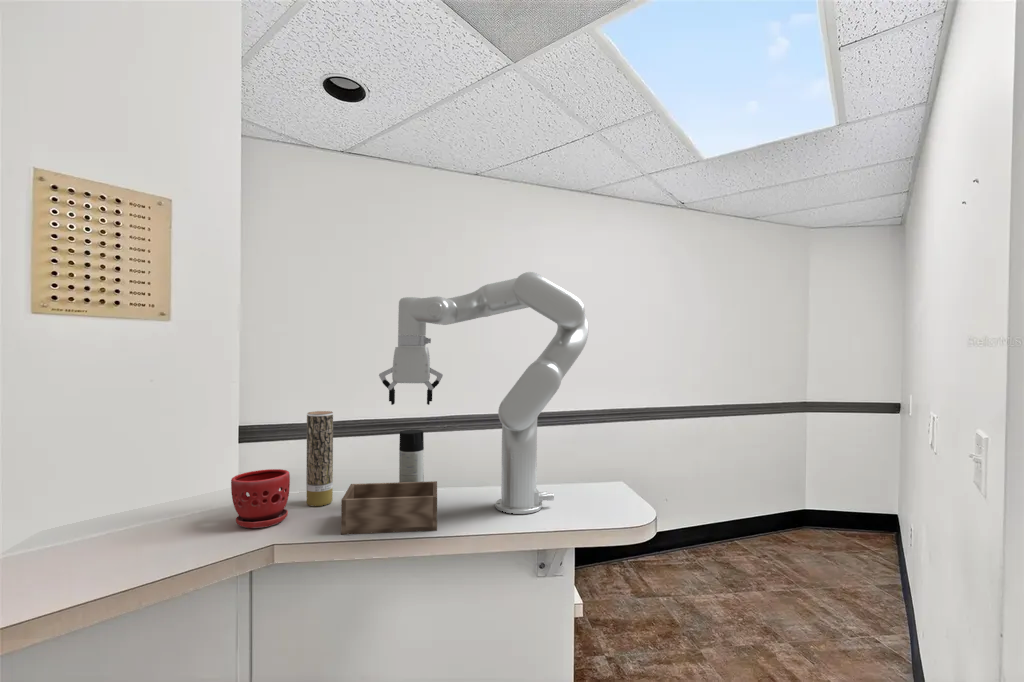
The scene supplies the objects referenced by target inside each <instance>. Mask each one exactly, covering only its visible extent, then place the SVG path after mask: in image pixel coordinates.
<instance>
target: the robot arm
mask: <svg viewBox="0 0 1024 682" xmlns="http://www.w3.org/2000/svg"><path fill="white" fill-rule="evenodd" d="M528 308H530V309H532V310H534V311H535V312H536V313H539V314H540V315H542V316H544V318H547V319H548V320H550V321H552V322H554V323H555V324H556V325H557V330H556V333H555V335H554V336H553V338H552V339H551V340H550V342H549V343H548V345H547V346H546V347H545V349H544V350H543V351H542V352H541V354H540V355H539V356H538V358H537V359H535V360H534V361H533V362H532V363H530V365H528V366H527V368H526V369H525V371H523V373H522V374H521V375H520V377H519V378H518V379H517V381H516V382H515V384H513V386H512V388H511V389H510V390H509V391H508V393H507V394H506V395H505V396H504V398H503V399H502V401H501V402H500V404H499V407H498V411H497V412H498V413H497V414H498V419H499V421H500V423H501V425H502V426H501V427H502V428H501V430H502V431H501V484H500V485H501V496H500V497H501V498H499V499H497V500H496V501H495V508H496V509H497V511H500V512H502V511H503V512H502V513H505V512H506V513H507V514H511V513H513V514H512V515H526V514H533V513H536V512H538V511H540V510H542V508H543V503H542V502H543V501H554V500H555V494H554V492H553V493H552V492H550V493H549V492H548V491H539V490H538V489H537V470H538V468H537V464H538V463H537V458H538V457H537V456H538V455H537V453H538V452H537V450H538V418H539V417H538V416H539V415H540V414H541V413H542V411H543V410H544V409H545V408H546V406H547V405H549V402H550V401H551V400H552V398H553V397H554V396H555V395H556V393H557V392H558V390H559V389H560V386H561V383H562V380H564V379H563V378H564V377H565V376H566V375H567V373H568V372H569V370H570V369H571V368H572V366H573V365H574V363H575V362H576V360H578V358H579V357H580V355H581V354H582V353H583V350H584V348H585V346H586V345H587V341H588V336H589V322H588V318H587V315H586V309H585V305H584V303H583V301H582V300H581V299H580V298H579V297H578V296H576V295H575V294H574V293H572V292H570V291H568V290H566V289H565V288H563V287H561V286H559V285H557V284H555V283H554V282H552V281H551V280H549V279H547V278H546V277H545V276H542V275H541V274H539V273H537V272H534V271H528V272H522V273H520V275H518V276H517V277H516V278H510V279H506V280H502V281H498V282H497V281H496V282H493V283H487V284H484V285H482V286H480V287H479V288H477V289H476V290H475V291H473V292H469V293H466V294H462V295H458V296H454V297H448V298H446V297H442V296H430V297H415V296H414V297H413V296H410V297H409V296H408V297H407V296H406V297H402V298H400V299H399V301H398V312H397V313H398V315H397V316H398V317H397V318H398V321H397V324H398V325H397V326H398V327H397V329H398V332H397V346H395V348H394V352H393V360H392V367H390V368H388V369H387V370H384V371H382V372H380V373H379V375H378V376H379V379H380V381H381V382H382V384H383V386H385V387H386V388H387V389H388V402H390V405H391V406H393V405H395V403H396V402H395V401H396V400H395V399H396V390H395V386H396V385H397V384H424V385H425V386H426V388H427V390H426V405H427V406H429V405H430V404H431V403H430V402H433V390H434V389H435V388H436V387H437V386H438V385H439V384H440V382H441V380H442V379H443V376H444V375H443V373H442V372H439V371H437V370H436V369H433V368H432V367H430V366H431V362H430V359H431V358H430V352H429V347H428V346H427V347H426V345H427V344H431V342H432V341H431V340H432V338H429V337H427V336H426V334H427V324H434V325H442V326H447V325H453V324H458V323H464V322H467V321H471V320H476V319H480V318H488V317H491V316H496V315H500V314H504V313H508V312H513V311H519V310H523V309H528ZM390 374H392V375H391V377H392V378H391V379H392V382H391V383H390V381H389V380H387V377H386V376H387V375H390ZM431 374H432V375H433V376H435V377H436V378H435V380H434V381H433V382H432V383H431V381H430V377H431Z"/></svg>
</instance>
